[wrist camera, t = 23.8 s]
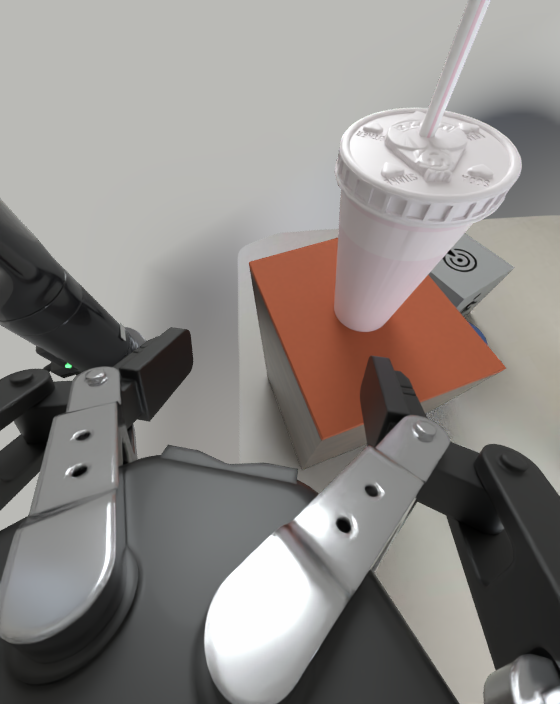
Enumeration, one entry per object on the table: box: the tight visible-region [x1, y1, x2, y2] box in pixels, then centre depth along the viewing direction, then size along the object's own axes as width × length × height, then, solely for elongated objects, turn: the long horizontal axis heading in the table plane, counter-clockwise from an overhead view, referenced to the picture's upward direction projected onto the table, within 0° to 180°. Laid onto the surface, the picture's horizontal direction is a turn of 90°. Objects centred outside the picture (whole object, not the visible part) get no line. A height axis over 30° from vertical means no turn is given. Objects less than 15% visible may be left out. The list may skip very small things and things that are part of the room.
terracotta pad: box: [249, 238, 506, 440], centre depth 18 cm, size 12×14×1 cm
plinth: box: [250, 269, 497, 470], centre depth 28 cm, size 12×14×22 cm
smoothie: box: [334, 0, 522, 332], centre depth 12 cm, size 6×6×14 cm
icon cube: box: [428, 233, 515, 316], centre depth 42 cm, size 10×10×10 cm
